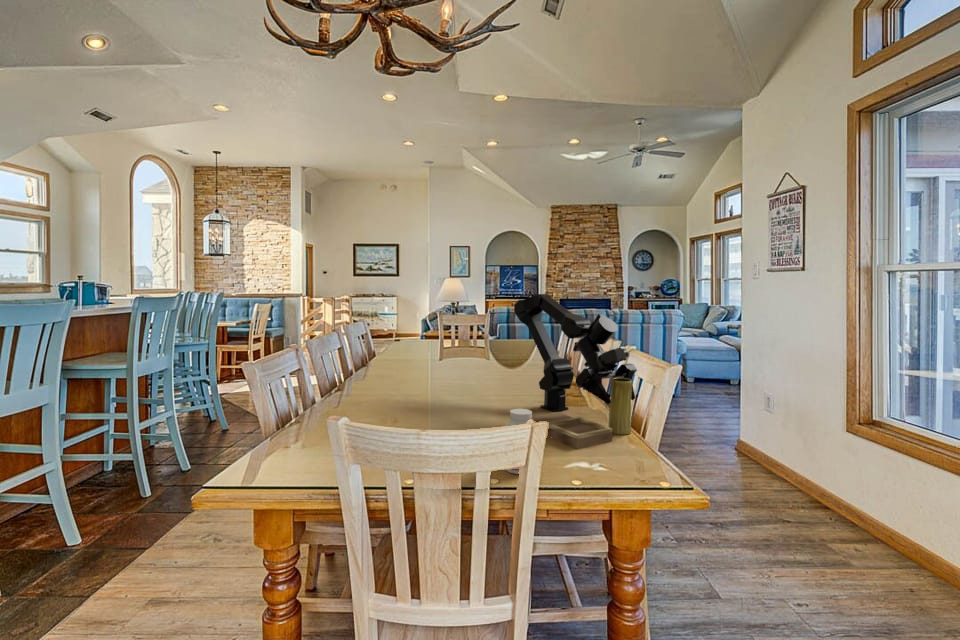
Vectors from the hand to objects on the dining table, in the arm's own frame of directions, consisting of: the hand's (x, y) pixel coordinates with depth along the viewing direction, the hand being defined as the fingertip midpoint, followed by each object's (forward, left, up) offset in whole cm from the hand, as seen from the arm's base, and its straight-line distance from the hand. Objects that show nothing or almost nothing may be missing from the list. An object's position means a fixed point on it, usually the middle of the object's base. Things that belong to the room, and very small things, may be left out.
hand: (621, 401), depth 140 cm
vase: (0, 0, -9) cm, 9 cm away
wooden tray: (-5, -14, -8) cm, 17 cm away
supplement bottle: (+9, -40, -9) cm, 42 cm away
